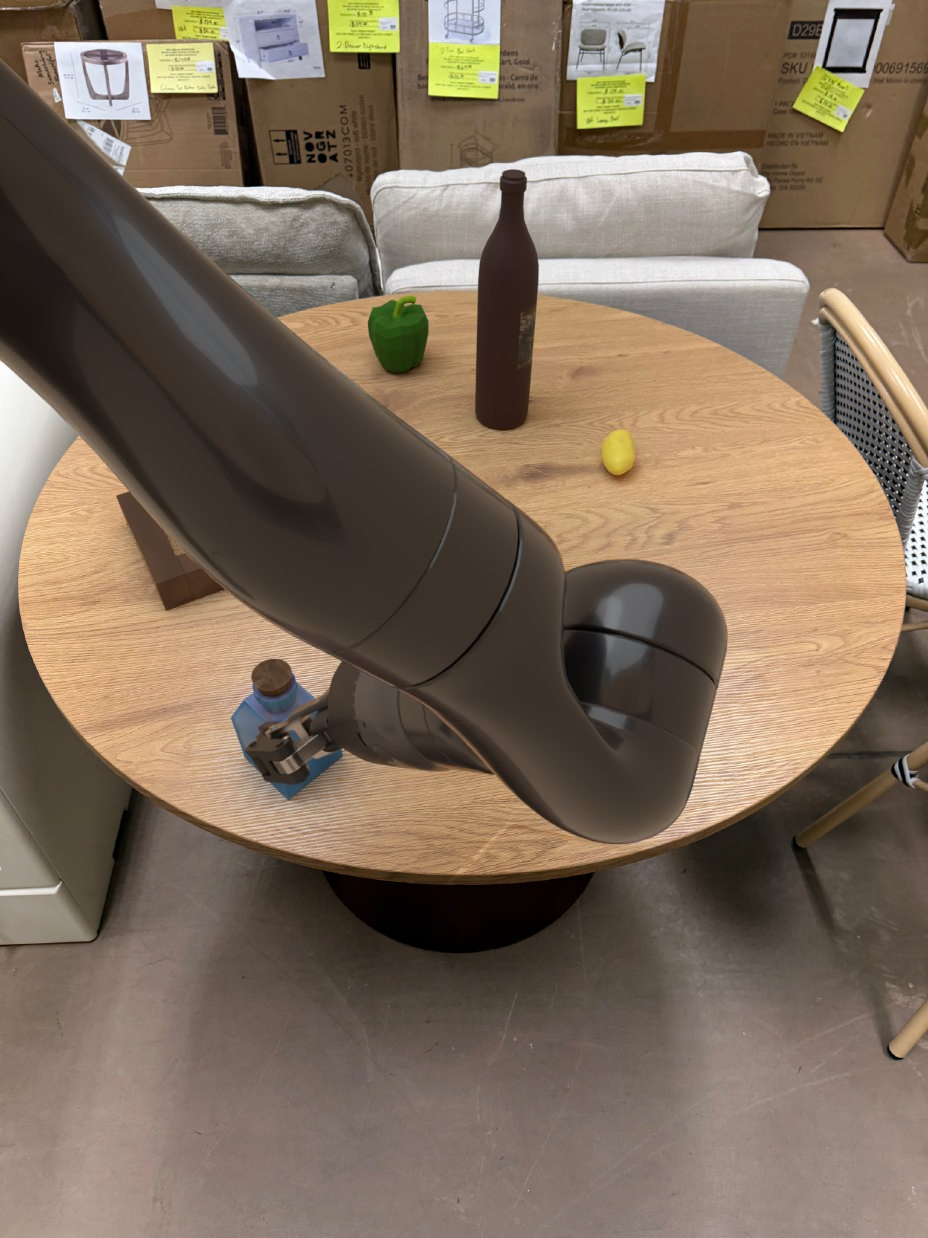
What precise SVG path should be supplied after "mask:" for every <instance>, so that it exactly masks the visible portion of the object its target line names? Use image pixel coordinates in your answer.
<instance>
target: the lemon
mask: <svg viewBox="0 0 928 1238" xmlns="http://www.w3.org/2000/svg"><path fill="white" fill-rule="evenodd" d="M634 444H635V442H634V438H633V435H632V434H631V432H629V431H628V430H626V429H615V430H613V431H612V432H610V433H609V434H608V435H607V437H606V438H605V439H604V441H603V443H602V446H601V450H600V454H601V455H600V456H601V458H600V459H601V461H602V463H603V465H604V467H605V469H606V470H607V471H608V472H609V473H610V474H611V475H613V476H621V475H623V474H624V473H627V472H628V471H630V470H631V469H632V468H633V466H634V463H635V461H636V460H635V458H636V457H635V456H636V450H635V445H634Z"/></svg>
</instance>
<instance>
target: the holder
mask: <svg viewBox="0 0 928 1238" xmlns="http://www.w3.org/2000/svg"><path fill="white" fill-rule="evenodd" d="M115 497H116V500H117V502H118V504H119V507H120V510H121V513H122V515H123V518H124V520H125V522H126V525H127V528H128V529H129V532H130V534H131V537H132V538H133V540H134V542H135V545H136V547H137V549H138V551H139V554H140V556H141V558H142V560H143V563H144V565H145V567H146V569H147V571H148V574H149V576H150V578H151V580H152V583H153V585H154V588H155V590H156V592H157V594H158V597H159V598H160V601H161V603H162V605H163V608H164V610H165V611H168V610H171V609H174V608H177V607H180V606H183V605H185V604H188V603H190V602H193V601H195V600H199V599H201V598H205V597H207V596H209V595H212V594H216V593H218V592H220V591H224V590H225V589H224V588H223V587H222V586H221V585H219V584H218V583H217V582H216V581H214V580H213V579H212V578H211V577H210V576H209V575H208V574H207V573H206V572H205V571H203V570H202V569H201V568H200V567H199V566H198V565H197V564H196V563H195V562H194V561H193V560H192V559H191V558H190V557H189V556H188V555H187V554H186V553H185V552H183V553H180V554H178V555H176V553H175V551H174V548H173V547H172V544H171V541H170V540H169V538H168V535H167V533H166V532H165V531H164V530H163V529H162V528H161V527H160V526H159V524H158V523H157V522H156V521H155V520H154V519H153V518H152V517H151V515H150V514H149V513H148V512H147V511H146V510H145V509H144V508H143V506H142V505H141V504H140V503H139V502H138V501H137V500H136V499H135V497H134V496H133V495H132V494H131V493H130V492H129V491H126V492H122V493H120V494H116V495H115Z"/></svg>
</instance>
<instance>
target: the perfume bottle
mask: <svg viewBox="0 0 928 1238" xmlns="http://www.w3.org/2000/svg"><path fill="white" fill-rule="evenodd" d="M250 678H251V682H252V684H251V685H252V686H251V688H252V693H251V694H250V695H248V696H246V697H245V698H243V700H242V701H241V703H240V704H239V705H238V706H237V708H236V709H235V711H234V712H233V713H232V715H231V716H230V720H231V723H232V726H233V728H234V732H235V734H236V738H237V740H238V742H239V745H240V749H241V751H242V753H243V757H244V758H245V759H246V761H248V762H249V764H251V765H252V766H253V767H254V768H255V769H256V770H257V772H258V773H260V771H259V770H258V768H257V767H256V765H255V764H254V762H253V761H252V759H251V758H250V756H248V755H247V753H246V752H245V749H246V748H247V747H248V745H249V744H250V743H251V742H253V741H257V739H256V736H257V735H258V734H260V731H259V729H258V727H259V726H260V725H262V724H263V723H265V722H266V721H273V722H283V721H285V720H287V719H288V716H289V715H290V714H291V713H292V712H293V711H294V710H295V709H296V708H297V707H298V706H300V705H302V704H304V703H306V702H308V701H310V700H313V699H315V698H316V697H314V696H313V695H312V694H311V693H310V692H309V691H308V690H307V689H306V688H304V687H303V686H302V685H301V684H300V683H299V682H298V681H297V679H296V676H295V674H294V673H293V670H292V667H291V665H290V664H289V663H288V662H287V661H285V660H283V659H280V658H268V659H265V660H263V661H260V662H259V663H257V665H255V666H254V668H253V669H252V671H251V676H250ZM317 712H318V711H316V712H313V713H311V714H310V717H311V718H312V720H313V719H314V717H315V715H316V714H317ZM288 733H289V734H290V736H291V738H292V739H293V741H294V742H295V743H296V742H299V741H301V740H300V738H299V737H298V735H297V733H296V732H295V731H293V730H290V731H288ZM342 757H344V753H343V749H340V750H337V751H335V752H333V753H330V754H328V755H326V756H323V757H321V758H318V759H315V758H311V759H310V760H308V761H307V762H306V763H307V764H308V766H309V769H308V770H309V771H310V773H311V774H310V775H309V776H308V777H307V779H306V780H305V781H304V782H302V783H298V784H296V785H291V784H283V783H274V782H269V783H270V784H271V785H272V786H273V787H274V788H275V789H276V790H277V791H278V792H279V793H280V794H281V795H282V796H283V797H284V798H285V799H286V800H287V801H290V799H292V798H294V796H295V795H297V794H298V793H299V792H300V791H301V790H303V789H304V788H306V787H307V786H308V785H309V784H311V783H312V782H313V781H314V780H315V779H317V778H318V777H319V776H320V775H322V774H323V773H324V772H325V771H326V770H328V769H329V768H330V767H331V766H332V765H334V764H335V763H336V762H337V761H339V760H340V759H341V758H342Z"/></svg>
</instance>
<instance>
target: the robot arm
mask: <svg viewBox="0 0 928 1238" xmlns="http://www.w3.org/2000/svg"><path fill="white" fill-rule="evenodd" d="M0 362H1V363H3V364H4V365H5V366H6V367H7V368H8V369H9V370H11V371H12V372H13V374H15V376H17V377H18V378H20V380H21V381H23V382H24V383H25V384H26V385H27V386H28V387H29V388H30V389H31V390H32V391H34V393H36V394H37V395H38V396H39V397H40V398H41V399H42V400H43V401H44V402H45V403H46V404H48V405H49V406H50V407H51V408H52V409H53V410H54V411H55V412H56V413H57V415H59V416H60V418H61V419H63V420H64V421H65V423H66V424H67V425H69V427H70V428H71V429H72V430H73V431H74V432H75V433H76V434H77V435H78V436H79V437H80V438H81V439H82V441H84V442H85V443H86V445H87V446H89V447H90V449H91V450H92V451H93V452H94V453H95V454H96V455H97V456H98V458H99V459H100V460H101V461H102V463H104V464H105V465H106V467H108V468H109V470H110V471H111V472H112V473H113V474H114V475H115V477H116V478H117V479H118V480H119V481H120V482H121V484H122V485H123V486H124V487H125V488H126V489H127V491H128V492H130V493H131V494H132V495H133V496H134V497H135V499H136V500H137V501H138V502H139V503H140V504H141V505H142V506H143V508H144V509H145V510H146V511H147V512H148V513H149V514H150V515H151V517H152V518H153V519H154V520H155V521H156V522H157V523H158V524H159V526H160V527H161V528H162V529H163V530H164V532H165V534H166V535H167V537H169V538H170V539H171V540H172V542H174V543H175V544H176V545H177V546H178V547H179V549H180V550H181V551H183V553H186V554H187V555H188V556H189V557H190V558H191V559H192V560H193V561H194V562H195V563H196V564H197V565H198V566H199V567H200V568H201V569H202V570H203V571H205V572H206V573H207V574H208V575H209V576H210V577H211V578H212V579H213V580H214V581H216V582H217V583H218V584H219V585H221V586H222V587H223V588H224V589H223V590H225V591H226V592H227V593H229V594H230V595H231V596H232V597H234V598H235V600H238V601H239V602H240V603H242V604H243V605H244V606H246V607H247V608H248V609H249V610H251V611H252V612H253V613H256V614H257V615H258V616H260V617H261V618H262V619H264V620H265V621H267V622H268V623H270V624H271V625H273V626H275V627H276V628H279V630H281V631H283V632H284V633H287V634H289V636H292V637H294V638H295V639H297V640H299V641H301V642H303V643H305V644H307V645H309V646H311V647H312V648H314V649H316V650H319V651H321V652H323V653H324V654H327V655H328V656H330V657H333V658H335V659H336V660H337V661H338V660H339V662H340V663H339V665H338V666H337V667H336V669H335V671H334V672H333V675H332V678H331V681H330V684H329V687H328V688H327V689H326V690H325V691H324V692H323V693H322V694H321V695H319V696H317V697H314V698H315V699H313V700H310V701H308V702H306V703H304V704H302V705H300V706H298V707H297V708H296V709H295V710H294V711H293V712H292V713H291V714H290V715H289V716H288V719H287V720H285V721H283V722H273V721H266V722H265V723H263V724H262V725H260V726H259V727H258V729H259V731H260V734H258V735H257V736H256V739H257V741H253V742H251V743H250V744H249V745H248V747H247V748H246V749H245V752H246V753H247V755H248V756H250V758H251V759H252V761H253V762H254V764H255V765H256V767H257V768H258V770H259V771H260V772H259V771H258V770H257V771H258V772H259V773H260V774H261V777H262V778H263V779H262V780H264V782H266V783H267V782H268V783H270V782H274V783H283V784H291V785H296V784H298V783H302V782H304V781H305V780H306V779H307V777H308V776H309V775H310V774H311V773H310V771H309V770H308V769H309V766H308V764H307V763H306V762H307V761H308V760H310V759H311V758H315V759H318V758H321V757H323V756H326V755H328V754H330V753H333V752H335V751H337V750H340V749H342V750H345V751H346V752H347V753H350V754H352V755H353V756H354V757H357V758H358V759H360V760H362V761H364V762H367V763H370V764H374V765H381V766H387V767H395V768H401V769H410V770H416V771H421V772H433V773H437V772H439V773H440V772H449V771H458V772H465V773H472V774H481V775H488V776H495V777H496V778H497V779H498V780H499V781H500V782H501V783H502V784H503V786H505V787H506V788H507V789H508V790H509V791H510V792H511V793H512V794H513V795H515V796H516V798H517V799H519V800H520V801H521V802H522V803H523V804H524V805H526V806H527V807H528V808H529V809H530V810H532V811H533V813H535V814H537V815H538V816H539V817H541V818H543V819H544V820H545V821H547V822H548V823H550V824H551V825H553V826H555V827H557V828H558V829H560V830H563V831H565V832H567V833H569V834H571V835H573V836H576V837H578V838H581V839H584V840H587V841H590V842H594V843H600V844H606V845H630V844H636V843H639V842H643V841H646V840H648V839H652V838H655V836H658V835H659V834H661V833H663V832H664V831H665V832H666V830H667V829H668V828H670V827H671V826H672V825H673V824H674V823H676V822H677V820H678V819H679V818H680V817H681V815H682V813H683V812H684V810H685V808H686V806H687V803H688V802H689V800H690V796H691V794H692V790H693V788H694V783H695V780H696V776H697V771H698V768H699V765H700V760H701V755H702V751H703V747H704V744H705V739H706V736H707V732H708V728H709V724H710V720H711V717H712V714H713V713H712V712H713V708H714V705H715V702H716V697H717V693H718V692H717V691H718V689H719V686H720V681H721V678H722V674H723V671H724V666H725V661H726V657H727V653H728V641H729V631H728V626H727V620H726V616H725V613H724V612H723V609H722V607H721V606H720V604H719V602H718V600H717V599H716V598H715V596H714V595H713V594H712V593H711V592H710V591H709V589H708V588H707V587H706V586H704V584H702V583H701V582H700V581H698V580H697V579H696V578H695V577H693V576H691V575H689V574H687V573H686V572H684V571H682V570H681V569H678V568H676V567H674V566H671V565H667V564H664V563H660V562H656V561H650V560H647V559H638V558H615V559H614V558H613V559H604V560H599V561H594V562H593V561H592V562H588V563H585V564H582V565H578V566H575V567H573V568H570V569H567V570H566V568H565V564H564V560H563V556H562V554H561V552H560V550H559V547H558V545H557V543H556V542H555V540H553V538H552V537H551V535H550V534H549V533H548V532H547V530H545V528H543V527H542V526H541V525H540V524H539V523H538V522H537V521H535V520H534V519H533V517H531V516H529V515H528V514H527V513H526V512H525V511H523V510H522V509H521V508H520V507H518V506H517V505H516V504H514V503H513V502H512V501H510V500H509V499H508V498H506V497H504V495H502V494H501V493H500V492H499V491H497V490H496V489H495V488H493V487H492V486H490V484H488V483H487V482H485V480H483V479H482V478H480V477H479V476H477V475H476V474H475V473H473V471H471V470H469V469H468V468H467V467H466V466H464V465H463V464H462V463H461V462H459V461H458V460H457V459H455V458H454V457H452V456H451V455H450V454H449V453H447V451H445V450H443V449H442V448H441V447H439V446H438V445H437V444H435V443H434V442H433V441H432V440H430V439H429V438H427V437H426V436H425V435H423V434H422V433H420V431H418V430H417V429H415V428H414V427H413V426H411V425H410V424H409V423H408V422H406V421H404V420H403V419H402V418H401V417H399V416H398V415H397V414H396V413H394V411H393V412H392V410H390V409H389V408H388V407H387V406H385V405H384V404H382V403H381V402H380V401H378V400H377V399H376V398H374V397H373V396H372V395H371V394H370V393H368V392H367V391H366V390H364V389H363V388H362V387H361V386H360V385H359V384H357V383H356V382H354V381H353V380H352V379H351V378H349V377H348V376H347V375H346V374H345V373H343V372H342V371H341V370H340V369H338V367H336V366H335V365H334V364H332V363H331V362H330V361H329V360H328V359H327V358H325V357H324V356H323V355H321V353H319V352H318V351H317V350H315V349H314V348H313V347H312V346H311V345H310V344H308V343H307V342H306V341H305V340H303V339H302V337H300V336H299V335H298V334H296V332H294V331H293V330H292V329H291V328H289V327H288V325H286V324H284V322H282V321H281V320H280V319H279V318H278V317H276V316H275V315H274V314H273V313H272V312H271V311H270V310H269V309H267V308H266V307H265V306H264V305H263V304H261V303H260V302H259V301H258V300H257V299H256V298H255V297H254V296H253V295H251V293H249V292H248V291H247V290H246V289H245V288H244V287H243V286H242V285H240V284H239V282H237V281H236V280H235V279H234V278H233V277H232V276H230V275H229V274H228V273H227V272H226V271H225V270H224V269H222V267H220V266H219V265H218V264H217V263H216V262H215V261H214V260H212V258H210V257H209V255H207V254H206V252H204V251H203V250H202V249H201V248H200V247H198V246H197V245H196V243H194V242H193V241H192V240H190V238H189V237H187V236H186V235H185V234H184V233H183V231H181V230H180V229H179V228H177V226H176V225H175V224H173V223H172V222H171V221H170V220H169V219H168V218H167V217H166V216H165V215H164V214H163V213H162V212H161V211H160V210H158V208H157V207H155V206H154V205H153V203H151V202H150V201H149V200H148V198H146V197H145V196H144V195H143V194H142V193H141V192H140V190H138V189H137V188H136V187H134V185H133V184H132V183H130V182H129V180H127V179H126V178H125V176H124V175H122V174H121V173H120V172H119V170H117V168H115V167H114V166H113V165H112V164H111V163H110V162H109V161H108V160H107V159H106V158H105V157H104V156H103V155H102V154H100V152H98V151H97V150H96V149H95V148H94V147H93V146H92V145H91V144H90V143H89V142H88V141H87V140H86V139H85V138H84V137H83V136H82V135H81V134H80V133H79V132H77V131H76V130H75V128H73V126H71V125H70V123H69V122H67V121H66V120H65V119H64V118H63V116H61V115H60V114H59V113H58V111H56V110H55V109H54V108H53V107H51V105H50V104H48V102H47V101H46V100H45V99H43V97H41V96H40V95H39V94H38V93H37V92H36V90H34V89H33V88H32V87H31V86H30V85H29V84H28V83H27V82H26V81H25V80H24V79H23V78H22V77H21V76H20V75H19V74H17V72H15V71H14V70H13V69H12V68H11V67H10V66H9V65H8V64H7V63H6V62H5V61H4V60H3V59H2V58H1V57H0ZM316 711H318V712H317V714H316V715H315V717H314V719H313V720H312V718H311V717H310V714H311V713H313V712H316ZM290 730H293V731H295V732H296V733H297V735H298V737H299V738H300V740H301V741H299V742H296V743H295V742H294V741H293V739H292V738H291V736H290V734H289V733H288V731H290Z"/></svg>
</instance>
